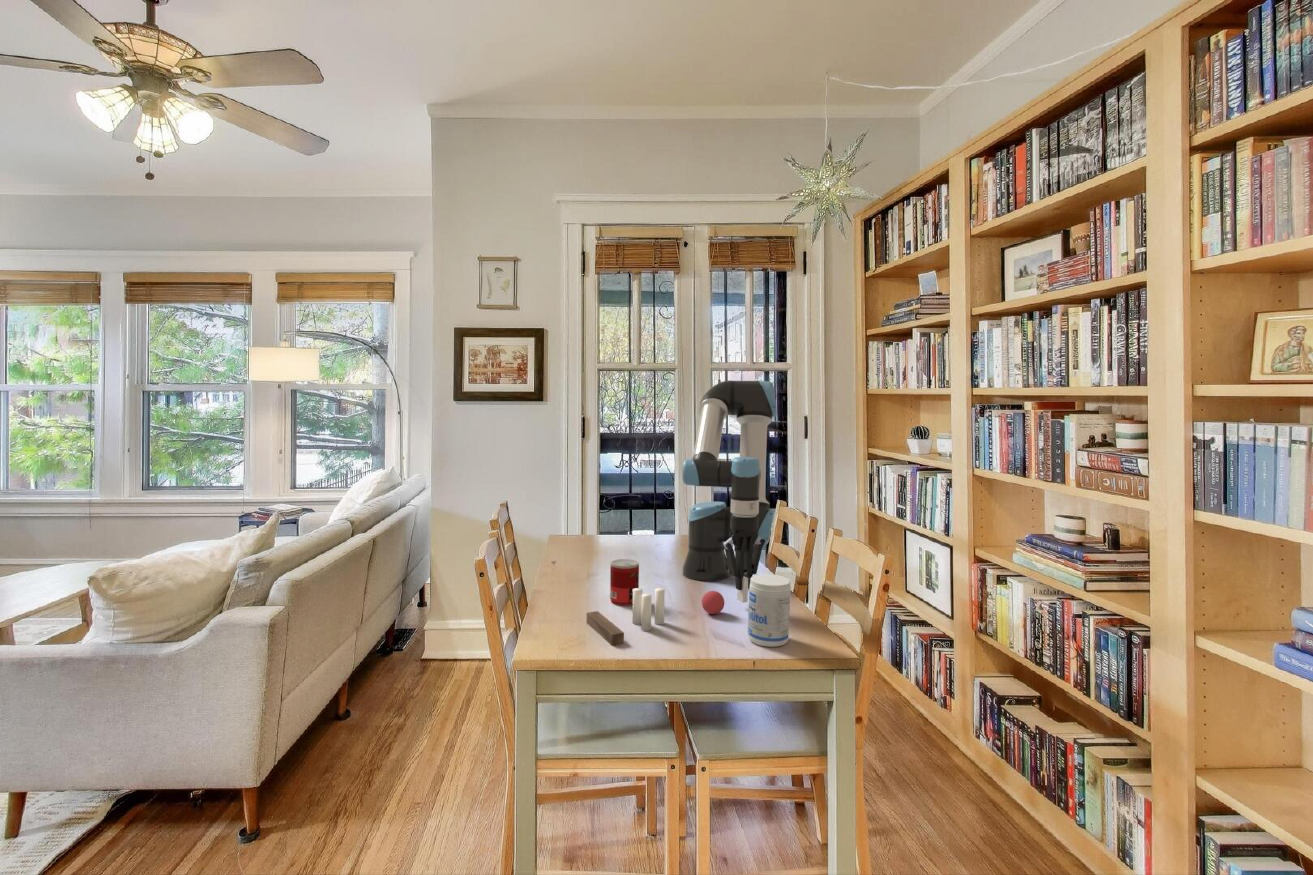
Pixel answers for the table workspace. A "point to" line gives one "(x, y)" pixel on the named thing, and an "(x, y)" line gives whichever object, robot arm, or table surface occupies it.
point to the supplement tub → (769, 610)
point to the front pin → (659, 606)
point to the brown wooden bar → (605, 628)
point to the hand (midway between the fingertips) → (742, 600)
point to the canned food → (623, 581)
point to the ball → (713, 602)
